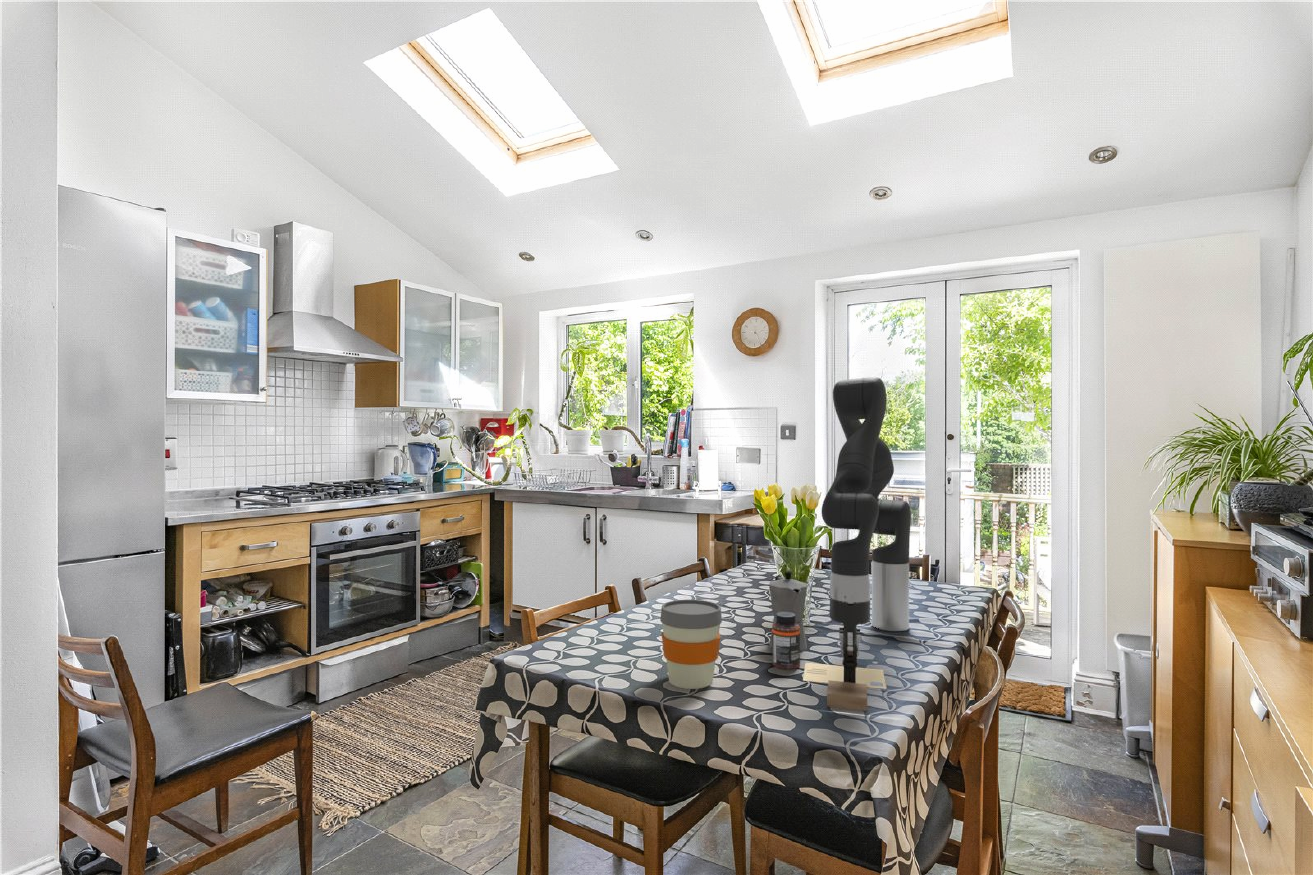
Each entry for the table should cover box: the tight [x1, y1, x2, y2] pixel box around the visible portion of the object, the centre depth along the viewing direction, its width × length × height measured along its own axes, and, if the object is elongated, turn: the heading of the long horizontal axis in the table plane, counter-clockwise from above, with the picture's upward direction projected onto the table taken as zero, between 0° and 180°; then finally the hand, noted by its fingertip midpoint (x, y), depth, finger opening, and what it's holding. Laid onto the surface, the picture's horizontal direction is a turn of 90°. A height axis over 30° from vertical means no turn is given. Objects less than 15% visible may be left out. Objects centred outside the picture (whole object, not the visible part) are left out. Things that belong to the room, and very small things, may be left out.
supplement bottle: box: [771, 612, 801, 670], centre depth 142 cm, size 6×6×11 cm
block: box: [826, 680, 868, 712], centre depth 123 cm, size 7×7×3 cm
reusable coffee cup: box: [660, 599, 723, 690], centre depth 134 cm, size 13×13×15 cm
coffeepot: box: [768, 570, 808, 653], centre depth 156 cm, size 15×9×18 cm, turn 8°
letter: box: [802, 662, 887, 690], centre depth 136 cm, size 11×16×1 cm
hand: (849, 685), depth 127 cm, fingers closed
